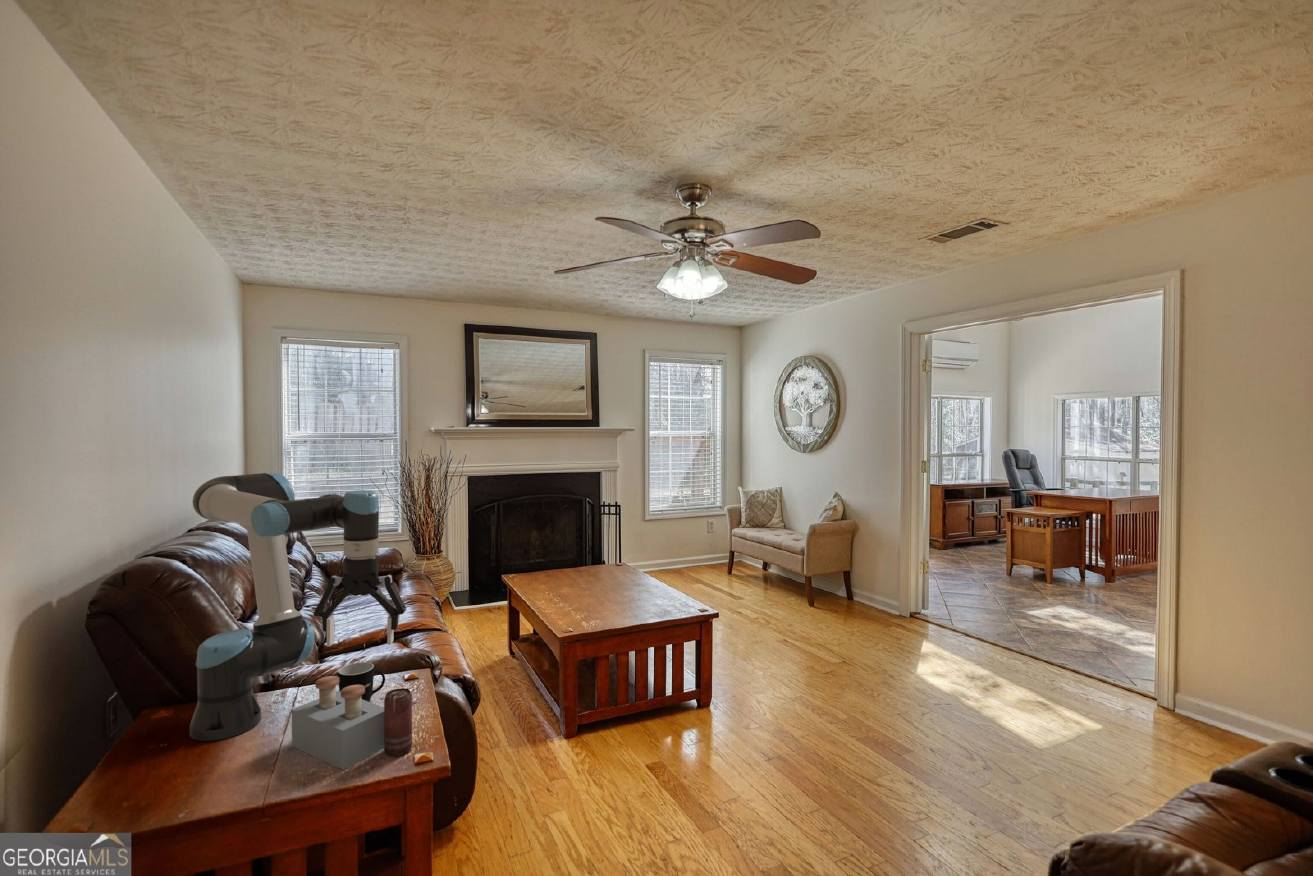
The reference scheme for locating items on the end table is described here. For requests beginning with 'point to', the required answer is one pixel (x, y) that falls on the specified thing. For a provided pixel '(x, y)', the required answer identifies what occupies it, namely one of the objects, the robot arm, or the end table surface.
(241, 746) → the end table surface
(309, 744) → the socket block
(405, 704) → the can
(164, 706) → the end table surface
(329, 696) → the peg
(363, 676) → the mug
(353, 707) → the peg
